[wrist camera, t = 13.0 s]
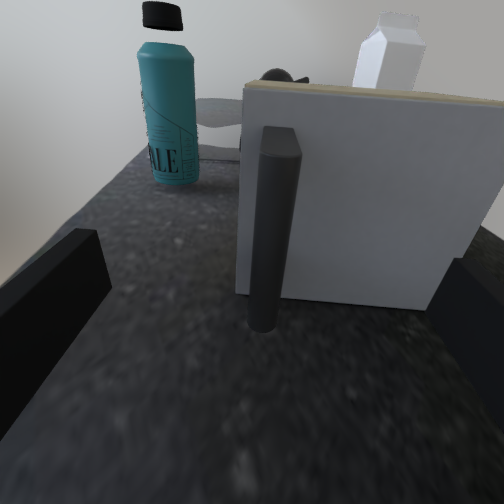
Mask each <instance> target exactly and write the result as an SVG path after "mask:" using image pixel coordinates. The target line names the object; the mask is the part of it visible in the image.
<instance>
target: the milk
mask: <svg viewBox="0 0 504 504" xmlns="http://www.w3.org/2000/svg"><path fill="white" fill-rule="evenodd" d="M418 21H419V17H418V16H413V15H406V14H398V13H392V12H384V11H383V12H381V13H380V16H379V20H378V24H377V27H376V28H375V29H374V30H373V31H372V32H371V34H370V35H369V36H368V37H367V38H366V39H365V41H363V42H362V44H361V48H360V52H359V57H358V61H357V66H356V70H355V75H354V80H353V84H352V87H361V88H375V89H389V90H402V91H412V89H413V86H414V82H415V79H416V76H417V73H418V70H419V66H420V64H421V60H422V58H423V54H424V51H425V48H426V44H425V43H424V41H423V40H422V39H421V38H420V36H419V35H418V33H417V32H416V28H417V25H418Z"/></svg>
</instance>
